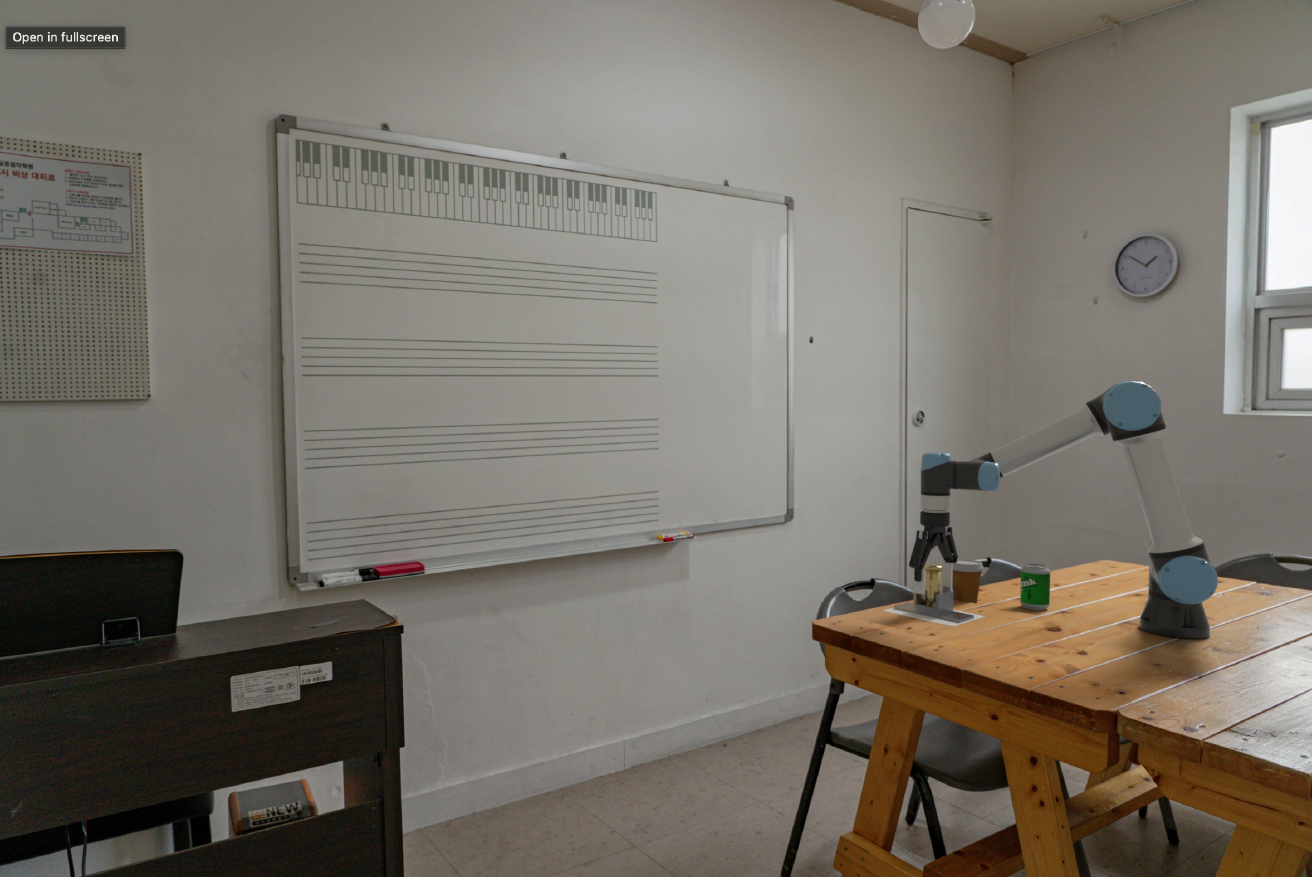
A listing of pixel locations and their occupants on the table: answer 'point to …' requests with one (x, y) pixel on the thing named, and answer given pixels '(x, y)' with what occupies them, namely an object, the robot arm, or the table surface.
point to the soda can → (1035, 587)
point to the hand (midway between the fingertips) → (933, 590)
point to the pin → (932, 583)
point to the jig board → (931, 619)
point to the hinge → (940, 611)
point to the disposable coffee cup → (966, 580)
